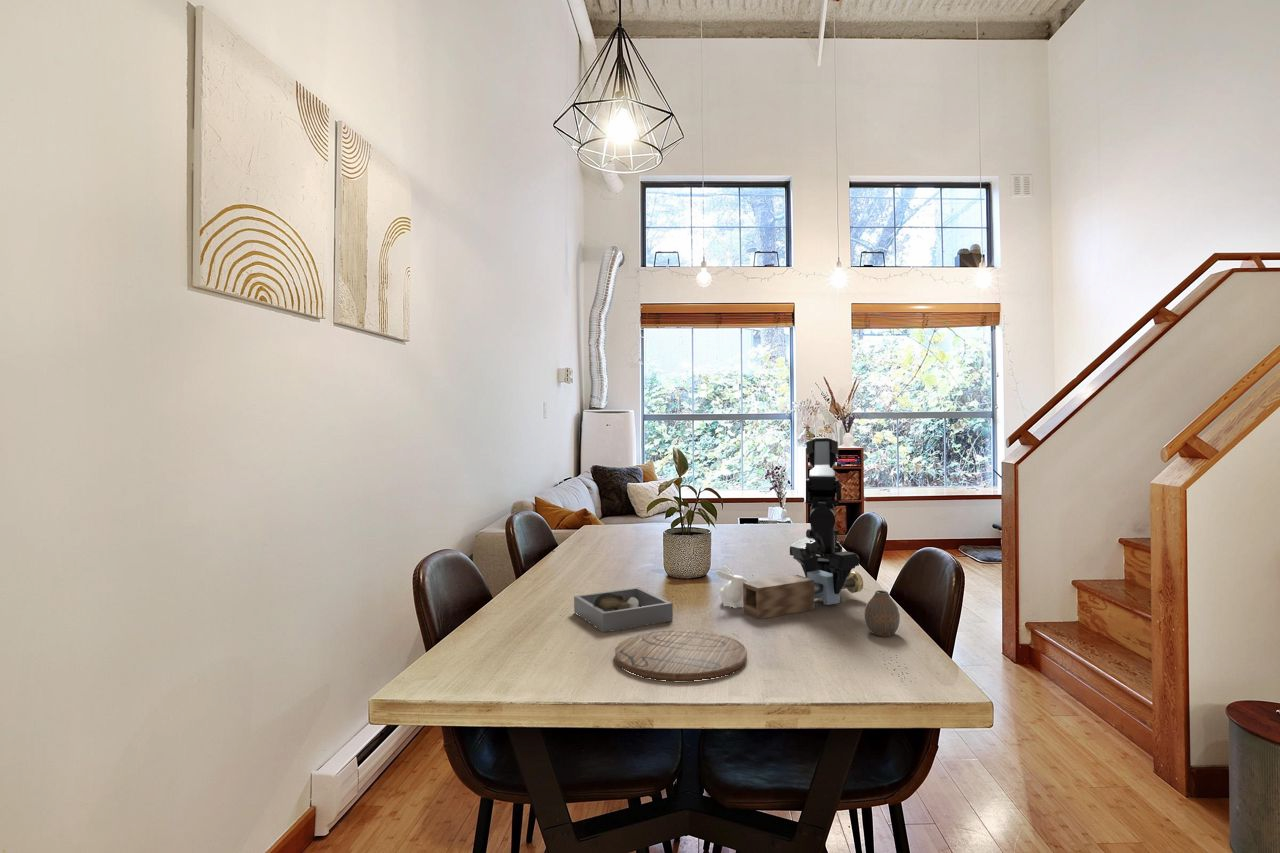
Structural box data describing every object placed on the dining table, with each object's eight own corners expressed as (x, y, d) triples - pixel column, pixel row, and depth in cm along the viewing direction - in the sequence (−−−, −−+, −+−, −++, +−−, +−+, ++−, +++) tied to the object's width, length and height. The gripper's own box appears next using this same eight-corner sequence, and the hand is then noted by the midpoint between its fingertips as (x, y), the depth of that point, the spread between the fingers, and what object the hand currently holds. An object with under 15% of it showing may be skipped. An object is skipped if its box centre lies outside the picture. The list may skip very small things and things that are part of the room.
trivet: (730, 691, 116) (730, 680, 116) (593, 674, 125) (593, 664, 125) (758, 645, 140) (758, 636, 140) (641, 633, 148) (641, 625, 148)
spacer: (820, 596, 173) (819, 570, 173) (839, 602, 167) (839, 575, 166) (807, 598, 171) (807, 571, 171) (827, 604, 165) (826, 577, 165)
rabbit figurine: (753, 611, 163) (752, 570, 163) (722, 613, 162) (721, 572, 162) (739, 599, 175) (738, 560, 175) (710, 600, 174) (709, 562, 174)
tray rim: (574, 613, 164) (574, 596, 164) (638, 603, 171) (638, 587, 171) (603, 632, 148) (603, 613, 148) (672, 620, 156) (672, 603, 156)
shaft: (799, 604, 162) (799, 583, 162) (785, 600, 167) (785, 579, 167) (863, 594, 171) (863, 573, 171) (848, 589, 176) (848, 570, 176)
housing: (759, 619, 156) (758, 588, 156) (743, 612, 162) (743, 582, 162) (814, 609, 164) (814, 579, 164) (797, 603, 169) (797, 574, 169)
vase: (894, 628, 148) (894, 587, 148) (904, 639, 141) (903, 596, 141) (861, 628, 149) (861, 587, 149) (869, 638, 142) (868, 595, 142)
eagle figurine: (612, 608, 163) (586, 609, 156) (627, 584, 162) (602, 584, 155) (631, 631, 159) (605, 633, 152) (647, 607, 157) (622, 608, 150)
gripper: (772, 523, 173) (772, 585, 173) (823, 534, 157) (824, 603, 157) (807, 520, 178) (807, 580, 179) (860, 529, 162) (861, 596, 162)
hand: (823, 589), depth 169 cm, fingers open, 9 cm apart
